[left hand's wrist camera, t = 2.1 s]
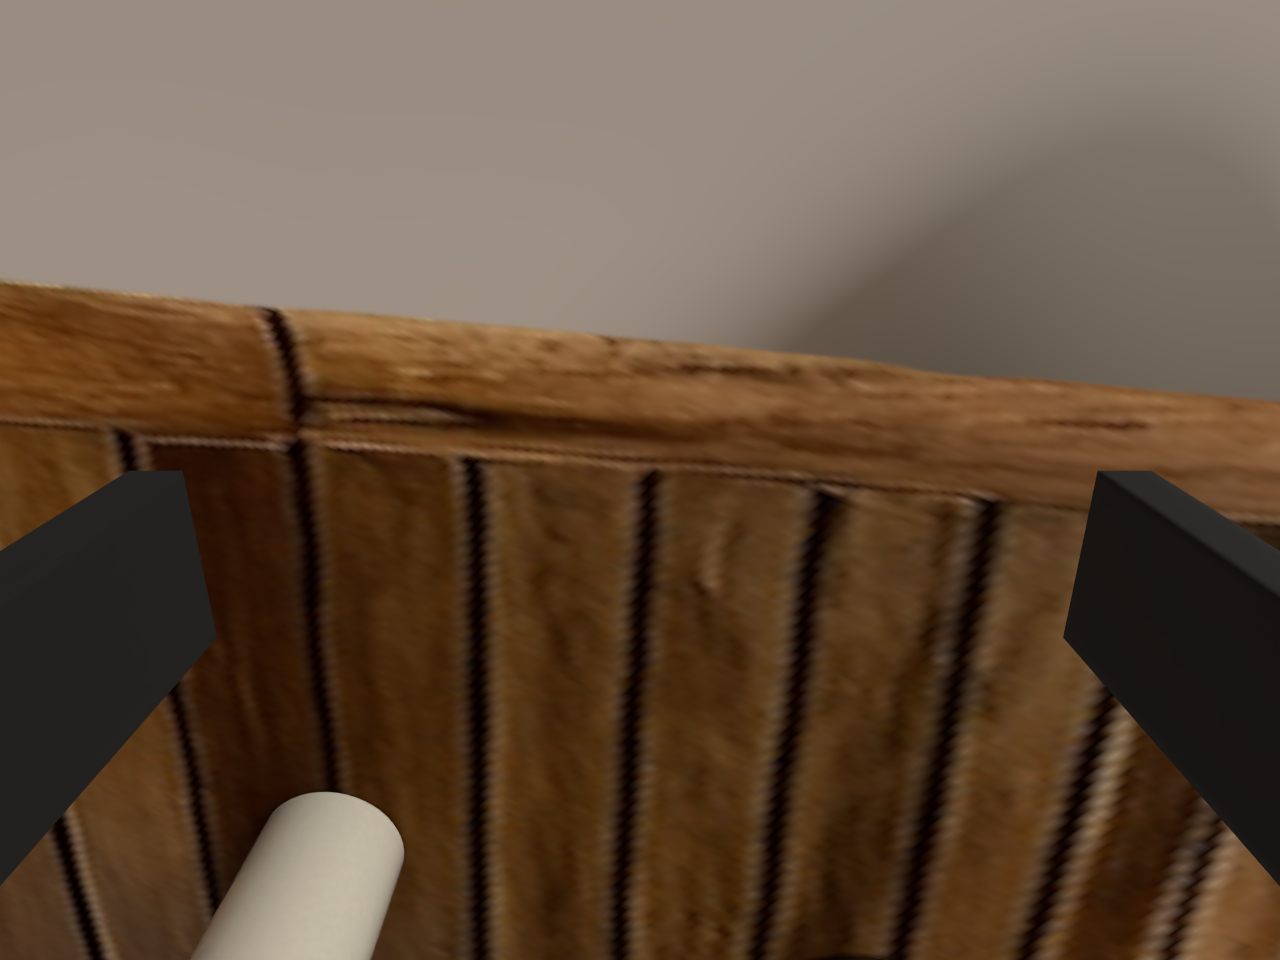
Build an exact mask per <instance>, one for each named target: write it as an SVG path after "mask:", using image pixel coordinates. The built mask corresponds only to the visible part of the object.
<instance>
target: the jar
mask: <svg viewBox="0 0 1280 960" xmlns="http://www.w3.org/2000/svg"><path fill="white" fill-rule="evenodd" d="M403 861H404V847H403V842H402V839H401V836H400V834H399V832H398V830H397V828H396V827H395V825H394V824H393V823H392V821H391V820H390V819H389V818H388V817H387V816H386V815H385V814H384V813H383V812H381V811H380V810H379V809H377V808H376V807H374V806H373V805H371V804H369V803H367V802H366V801H364V800H361V799H359V798H356V797H353V796H350V795H346V794H341V793H334V792H315V793H308V794H304V795H300V796H297V797H294V798H292V799H290V800H288V801H286V802H285V803H283V804H282V805H280V806H279V807H278V808H277V809H276V810H275V811H274V812H273V813H272V814H271V815H270V817H269V818H268V819H267V821H266V823H265V825H264V827H263V828H262V830H261V832H260V834H259V836H258V837H257V839H256V841H255V843H254V845H253V846H252V848H251V850H250V852H249V853H248V855H247V857H246V859H245V861H244V862H243V864H242V866H241V868H240V870H239V871H238V873H237V875H236V877H235V879H234V880H233V882H232V884H231V886H230V888H229V889H228V891H227V893H226V895H225V896H224V898H223V900H222V902H221V904H220V905H219V907H218V909H217V911H216V913H215V914H214V916H213V918H212V920H211V922H210V923H209V925H208V927H207V929H206V931H205V932H204V934H203V936H202V938H201V940H200V941H199V943H198V945H197V947H196V948H195V950H194V952H193V954H192V956H191V957H190V959H189V960H371V959H372V956H373V953H374V950H375V947H376V944H377V941H378V938H379V935H380V932H381V929H382V926H383V923H384V920H385V917H386V914H387V911H388V908H389V905H390V902H391V899H392V896H393V893H394V890H395V887H396V884H397V881H398V878H399V875H400V872H401V869H402V866H403Z"/></svg>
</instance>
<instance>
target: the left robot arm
mask: <svg viewBox="0 0 1280 960" xmlns="http://www.w3.org/2000/svg"><path fill="white" fill-rule="evenodd" d="M216 638H217V636H216V631H215V627H214V622H213V617H212V612H211V607H210V602H209V597H208V593H207V588H206V583H205V578H204V573H203V568H202V564H201V559H200V554H199V549H198V544H197V539H196V535H195V530H194V525H193V520H192V515H191V510H190V506H189V501H188V496H187V491H186V486H185V481H184V477H183V472H182V471H128V472H126V473H125V474H123V475H122V476H120V477H118V478H117V479H115V480H114V481H112V482H110V483H109V484H107V485H106V486H104V487H102V488H101V489H99V490H98V491H96V492H94V493H93V494H91V495H90V496H88V497H86V498H85V499H83V500H82V501H80V502H78V503H77V504H75V505H73V506H72V507H70V508H69V509H67V510H65V511H64V512H62V513H61V514H59V515H57V516H56V517H54V518H53V519H51V520H49V521H48V522H46V523H45V524H43V525H41V526H40V527H38V528H37V529H35V530H33V531H32V532H30V533H29V534H27V535H25V536H24V537H22V538H21V539H19V540H17V541H16V542H14V543H13V544H11V545H9V546H8V547H6V548H5V549H3V550H1V551H0V886H1V884H2V883H3V882H4V881H5V880H6V879H7V878H8V876H9V875H10V874H11V873H12V872H13V871H14V870H15V868H16V867H17V866H18V865H19V864H20V863H21V862H22V860H23V859H24V858H25V857H26V856H27V855H28V854H29V852H30V851H31V850H32V849H33V848H34V847H35V845H36V844H37V843H38V842H39V841H40V840H41V839H42V837H43V836H44V835H45V834H46V833H47V832H48V831H49V829H50V828H51V827H52V826H53V825H54V824H55V823H56V821H57V820H58V819H59V818H60V817H61V816H62V814H63V813H64V812H65V811H66V810H67V809H68V808H69V806H70V805H71V804H72V803H73V802H74V801H75V800H76V798H77V797H78V796H79V795H80V794H81V793H82V792H83V790H84V789H85V788H86V787H87V786H88V785H89V784H90V782H91V781H92V780H93V779H94V778H95V777H96V775H97V774H98V773H99V772H100V771H101V770H102V769H103V767H104V766H105V765H106V764H107V763H108V762H109V761H110V759H111V758H112V757H113V756H114V755H115V754H116V753H117V751H118V750H119V749H120V748H121V747H122V746H123V745H124V743H125V742H126V741H127V740H128V739H129V738H130V736H131V735H132V734H133V733H134V732H135V731H136V730H137V728H138V727H139V726H140V725H141V724H142V723H143V722H144V720H145V719H146V718H147V717H148V716H149V715H150V714H151V712H152V711H153V710H154V709H155V708H156V707H157V705H158V704H159V703H160V702H161V701H162V700H163V699H164V697H165V696H166V695H167V694H168V693H169V692H170V691H171V689H172V688H173V687H174V686H175V685H176V684H177V683H178V681H179V680H180V679H181V678H182V677H183V676H184V675H185V673H186V672H187V671H188V670H189V669H190V668H191V666H192V665H193V664H194V663H195V662H196V661H197V660H198V658H199V657H200V656H201V655H202V654H203V653H204V652H205V650H206V649H207V648H208V647H209V646H210V645H211V644H212V642H213V641H214V640H215V639H216ZM1063 638H1064V639H1065V640H1066V641H1067V642H1068V644H1069V645H1070V646H1071V647H1072V648H1073V649H1074V650H1075V652H1076V653H1077V654H1078V655H1079V656H1080V657H1081V658H1082V660H1083V661H1084V662H1085V663H1086V664H1087V665H1088V666H1089V668H1090V669H1091V670H1092V671H1093V672H1094V673H1095V675H1096V676H1097V677H1098V678H1099V679H1100V680H1101V681H1102V683H1103V684H1104V685H1105V686H1106V687H1107V688H1108V689H1109V691H1110V692H1111V693H1112V694H1113V695H1114V696H1115V697H1116V699H1117V700H1118V701H1119V702H1120V703H1121V704H1122V705H1123V707H1124V708H1125V709H1126V710H1127V711H1128V712H1129V714H1130V715H1131V716H1132V717H1133V718H1134V719H1135V720H1136V722H1137V723H1138V724H1139V725H1140V726H1141V727H1142V728H1143V730H1144V731H1145V732H1146V733H1147V734H1148V735H1149V736H1150V738H1151V739H1152V740H1153V741H1154V742H1155V743H1156V745H1157V746H1158V747H1159V748H1160V749H1161V750H1162V751H1163V753H1164V754H1165V755H1166V756H1167V757H1168V758H1169V759H1170V761H1171V762H1172V763H1173V764H1174V765H1175V766H1176V767H1177V769H1178V770H1179V771H1180V772H1181V773H1182V774H1183V775H1184V777H1185V778H1186V779H1187V780H1188V781H1189V782H1190V784H1191V785H1192V786H1193V787H1194V788H1195V789H1196V790H1197V792H1198V793H1199V794H1200V795H1201V796H1202V797H1203V798H1204V800H1205V801H1206V802H1207V803H1208V804H1209V805H1210V806H1211V808H1212V809H1213V810H1214V811H1215V812H1216V813H1217V815H1218V816H1219V817H1220V818H1221V819H1222V820H1223V821H1224V823H1225V824H1226V825H1227V826H1228V827H1229V828H1230V829H1231V831H1232V832H1233V833H1234V834H1235V835H1236V836H1237V837H1238V839H1239V840H1240V841H1241V842H1242V843H1243V844H1244V845H1245V847H1246V848H1247V849H1248V850H1249V851H1250V852H1251V854H1252V855H1253V856H1254V857H1255V858H1256V859H1257V860H1258V862H1259V863H1260V864H1261V865H1262V866H1263V867H1264V868H1265V870H1266V871H1267V872H1268V873H1269V874H1270V875H1271V876H1272V878H1273V879H1274V880H1275V881H1276V882H1277V883H1278V884H1279V886H1280V551H1279V550H1277V549H1275V548H1274V547H1272V546H1271V545H1269V544H1267V543H1266V542H1264V541H1263V540H1261V539H1259V538H1258V537H1256V536H1255V535H1253V534H1251V533H1250V532H1248V531H1247V530H1245V529H1243V528H1242V527H1240V526H1239V525H1237V524H1235V523H1234V522H1232V521H1231V520H1229V519H1227V518H1226V517H1224V516H1223V515H1221V514H1219V513H1218V512H1216V511H1215V510H1213V509H1211V508H1210V507H1208V506H1207V505H1205V504H1203V503H1202V502H1200V501H1198V500H1197V499H1195V498H1194V497H1192V496H1190V495H1189V494H1187V493H1186V492H1184V491H1182V490H1181V489H1179V488H1178V487H1176V486H1174V485H1173V484H1171V483H1170V482H1168V481H1166V480H1165V479H1163V478H1162V477H1160V476H1158V475H1157V474H1155V473H1154V472H1152V471H1098V472H1097V477H1096V481H1095V486H1094V491H1093V496H1092V501H1091V506H1090V510H1089V515H1088V520H1087V525H1086V530H1085V535H1084V539H1083V544H1082V549H1081V554H1080V559H1079V564H1078V568H1077V573H1076V578H1075V583H1074V588H1073V593H1072V597H1071V602H1070V607H1069V612H1068V617H1067V622H1066V626H1065V631H1064V636H1063ZM824 960H881V959H875V958H866V957H839V958H830V959H824Z"/></svg>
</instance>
